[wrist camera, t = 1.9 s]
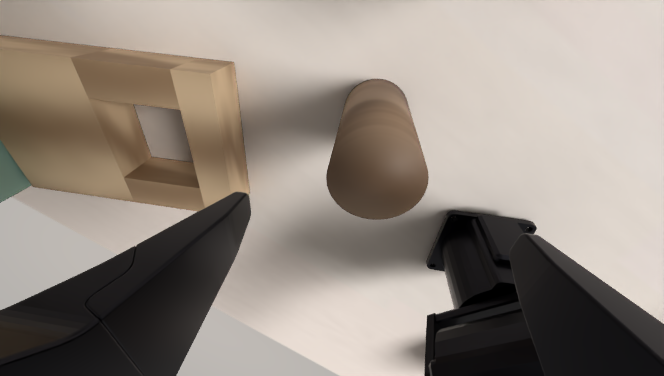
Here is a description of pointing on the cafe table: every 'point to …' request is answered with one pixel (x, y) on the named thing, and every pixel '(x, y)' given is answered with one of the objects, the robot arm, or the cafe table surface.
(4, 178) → the teal l-shaped bracket
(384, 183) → the walnut peg
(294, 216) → the cafe table surface
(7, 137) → the socket block
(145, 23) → the cafe table surface
